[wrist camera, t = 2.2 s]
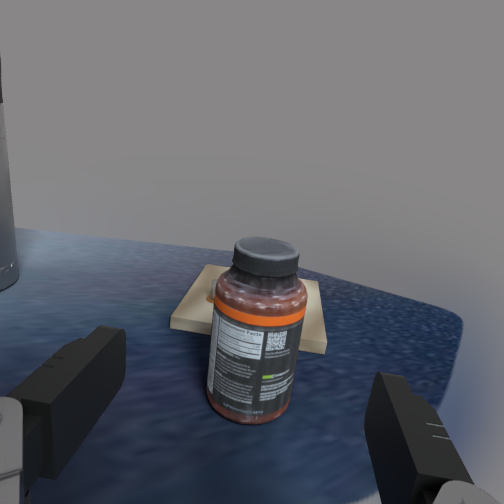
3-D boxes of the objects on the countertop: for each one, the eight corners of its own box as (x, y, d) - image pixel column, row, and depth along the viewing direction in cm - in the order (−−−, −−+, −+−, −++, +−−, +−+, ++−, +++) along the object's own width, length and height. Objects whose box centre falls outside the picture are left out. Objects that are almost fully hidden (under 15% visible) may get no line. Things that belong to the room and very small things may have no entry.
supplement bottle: (242, 360, 30) (260, 227, 26) (304, 398, 26) (334, 251, 23) (186, 395, 25) (199, 239, 21) (253, 446, 22) (280, 271, 18)
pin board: (170, 328, 33) (172, 296, 32) (206, 273, 46) (208, 249, 45) (324, 354, 32) (331, 322, 31) (315, 290, 45) (320, 266, 44)
